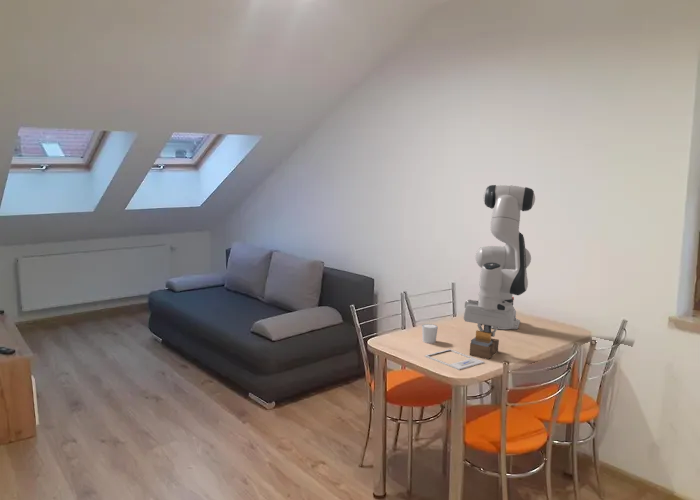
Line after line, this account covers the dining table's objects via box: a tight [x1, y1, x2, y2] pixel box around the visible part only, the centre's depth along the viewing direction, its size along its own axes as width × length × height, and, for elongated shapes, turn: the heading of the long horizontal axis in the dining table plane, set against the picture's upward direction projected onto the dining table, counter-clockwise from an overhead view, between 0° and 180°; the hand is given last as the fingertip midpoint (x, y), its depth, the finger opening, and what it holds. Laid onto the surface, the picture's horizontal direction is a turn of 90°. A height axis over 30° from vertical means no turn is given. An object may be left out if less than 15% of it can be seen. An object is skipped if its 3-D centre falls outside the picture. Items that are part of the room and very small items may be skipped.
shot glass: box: [421, 323, 438, 344], centre depth 241 cm, size 7×7×7 cm
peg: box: [483, 325, 492, 333], centre depth 228 cm, size 3×3×10 cm
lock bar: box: [470, 329, 492, 347], centre depth 223 cm, size 5×7×4 cm
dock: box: [469, 337, 500, 360], centre depth 227 cm, size 12×8×5 cm, turn 148°
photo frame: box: [424, 348, 485, 371], centre depth 219 cm, size 15×1×18 cm
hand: (487, 335), depth 228 cm, fingers closed on peg, 3 cm apart
